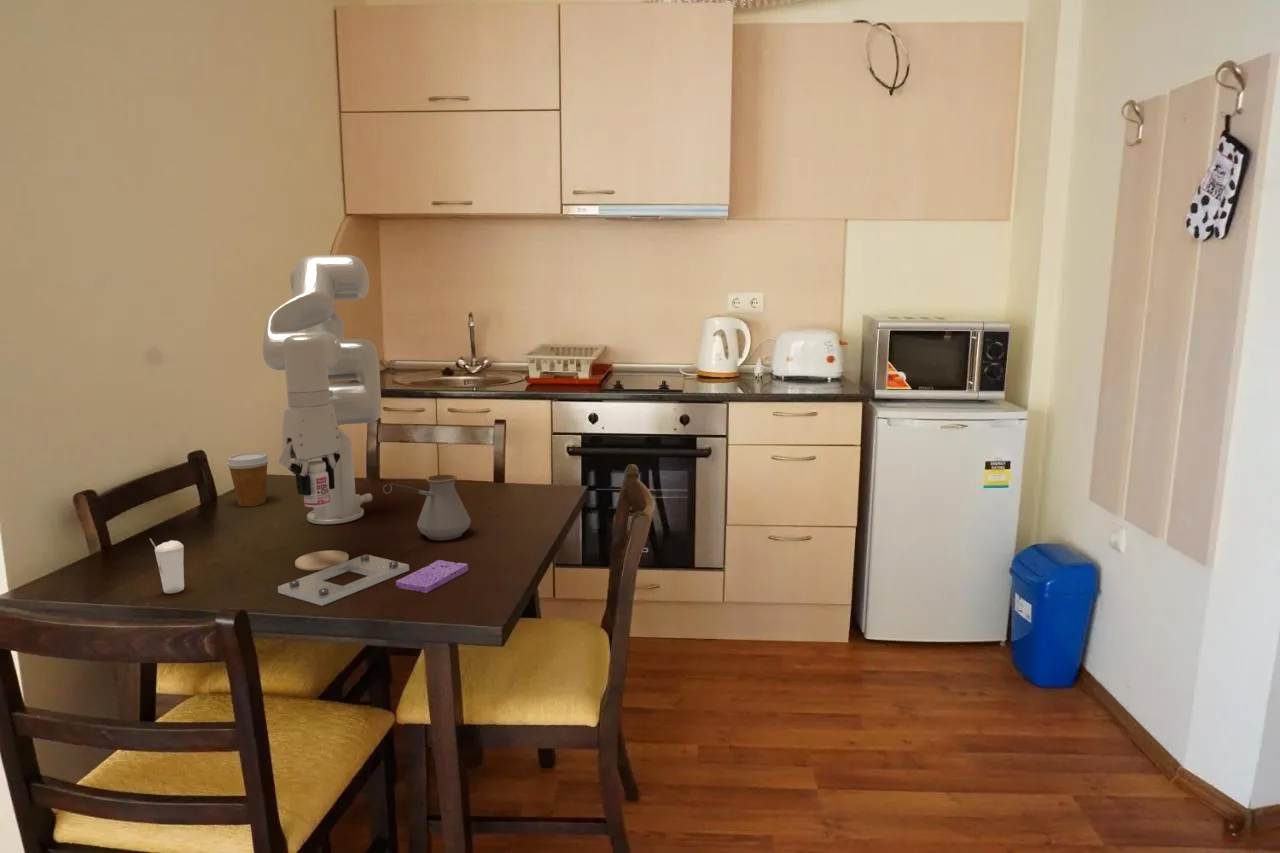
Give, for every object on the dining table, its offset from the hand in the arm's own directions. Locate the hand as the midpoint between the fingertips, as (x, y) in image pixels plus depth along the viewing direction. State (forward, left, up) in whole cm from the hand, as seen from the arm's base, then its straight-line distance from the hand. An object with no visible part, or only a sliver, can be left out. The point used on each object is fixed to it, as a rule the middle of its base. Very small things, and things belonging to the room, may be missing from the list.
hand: (316, 490), depth 163 cm
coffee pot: (-20, +9, -15) cm, 27 cm away
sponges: (-4, +26, -15) cm, 31 cm away
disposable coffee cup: (-20, -52, -15) cm, 58 cm away
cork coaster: (0, 0, -15) cm, 15 cm away
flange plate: (+5, +13, -15) cm, 20 cm away
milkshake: (+24, -11, -15) cm, 30 cm away
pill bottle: (0, 0, -3) cm, 3 cm away
